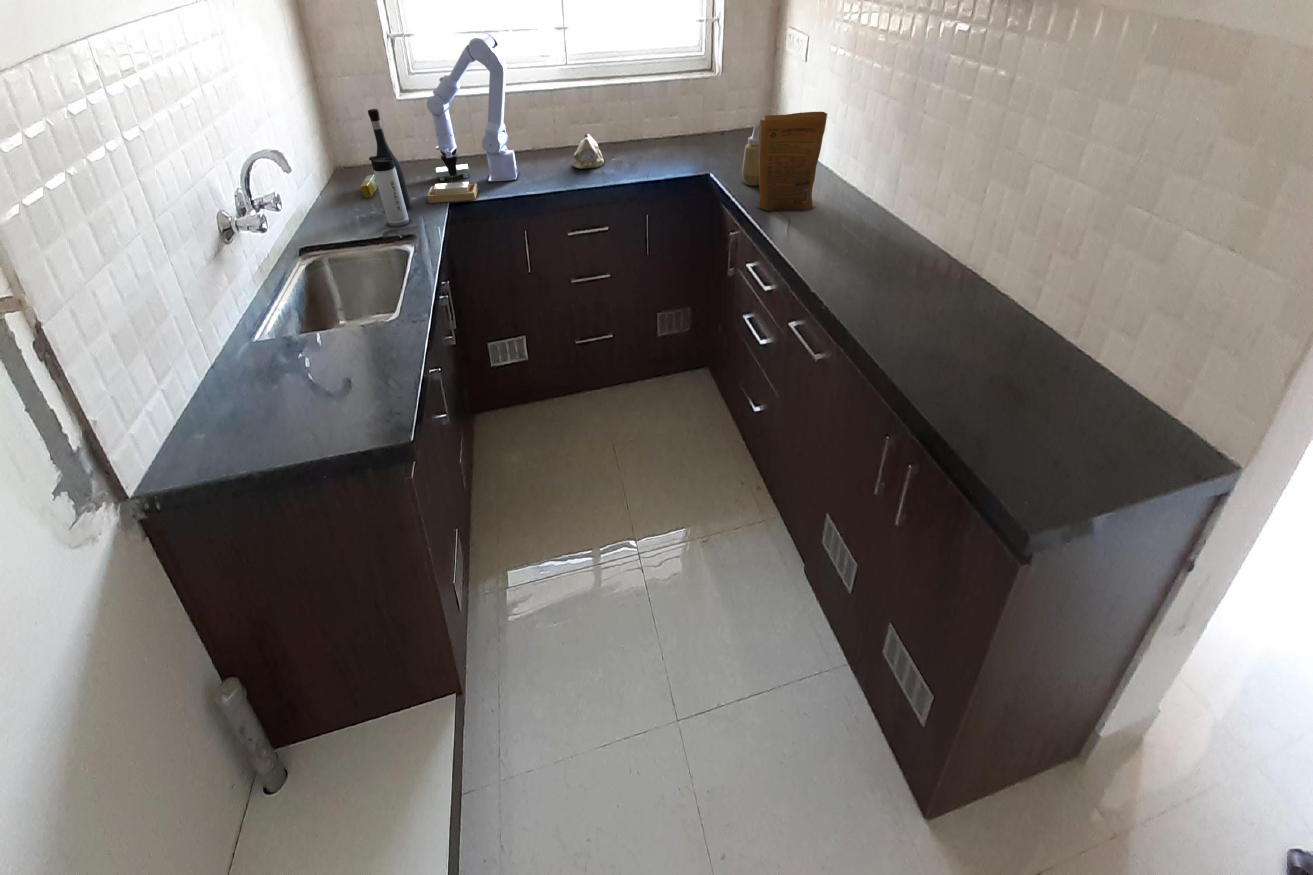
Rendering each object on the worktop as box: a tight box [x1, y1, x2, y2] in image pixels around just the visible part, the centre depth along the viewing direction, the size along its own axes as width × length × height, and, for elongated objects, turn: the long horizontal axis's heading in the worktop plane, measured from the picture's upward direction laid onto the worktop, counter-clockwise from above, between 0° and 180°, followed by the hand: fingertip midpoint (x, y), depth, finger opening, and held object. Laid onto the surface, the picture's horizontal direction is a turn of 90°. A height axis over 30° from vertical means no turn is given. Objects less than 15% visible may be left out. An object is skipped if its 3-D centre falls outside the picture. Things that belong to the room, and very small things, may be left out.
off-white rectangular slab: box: [433, 181, 470, 195], centre depth 236 cm, size 11×5×3 cm, turn 95°
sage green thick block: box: [435, 163, 470, 182], centre depth 251 cm, size 11×5×3 cm, turn 105°
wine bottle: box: [367, 108, 412, 211], centre depth 220 cm, size 8×8×30 cm
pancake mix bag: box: [758, 111, 828, 212], centre depth 209 cm, size 7×19×28 cm, turn 86°
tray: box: [426, 183, 479, 204], centre depth 236 cm, size 15×9×2 cm, turn 95°
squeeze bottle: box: [741, 125, 759, 187], centre depth 231 cm, size 8×8×18 cm
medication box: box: [359, 173, 378, 199], centre depth 242 cm, size 12×3×4 cm, turn 7°
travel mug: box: [368, 155, 410, 228], centre depth 214 cm, size 6×7×20 cm
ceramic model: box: [572, 133, 605, 169], centre depth 256 cm, size 14×11×10 cm
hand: (452, 173), depth 251 cm, fingers open, 5 cm apart
